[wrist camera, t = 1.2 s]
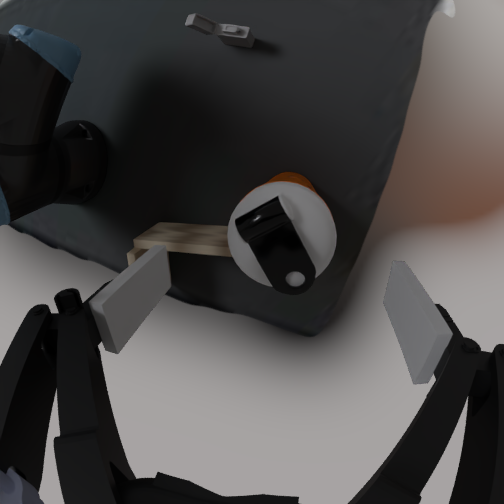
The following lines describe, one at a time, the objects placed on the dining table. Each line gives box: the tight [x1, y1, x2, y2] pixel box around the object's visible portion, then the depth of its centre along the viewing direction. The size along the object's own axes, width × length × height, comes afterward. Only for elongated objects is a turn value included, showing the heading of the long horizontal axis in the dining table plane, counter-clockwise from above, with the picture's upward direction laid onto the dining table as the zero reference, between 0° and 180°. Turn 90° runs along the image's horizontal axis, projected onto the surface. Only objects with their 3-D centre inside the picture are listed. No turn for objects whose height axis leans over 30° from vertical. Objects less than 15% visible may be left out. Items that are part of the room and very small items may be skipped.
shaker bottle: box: [227, 172, 337, 295], centre depth 29 cm, size 9×9×20 cm
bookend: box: [127, 222, 232, 281], centre depth 39 cm, size 14×10×10 cm
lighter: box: [185, 13, 255, 48], centre depth 27 cm, size 7×2×8 cm, turn 75°
